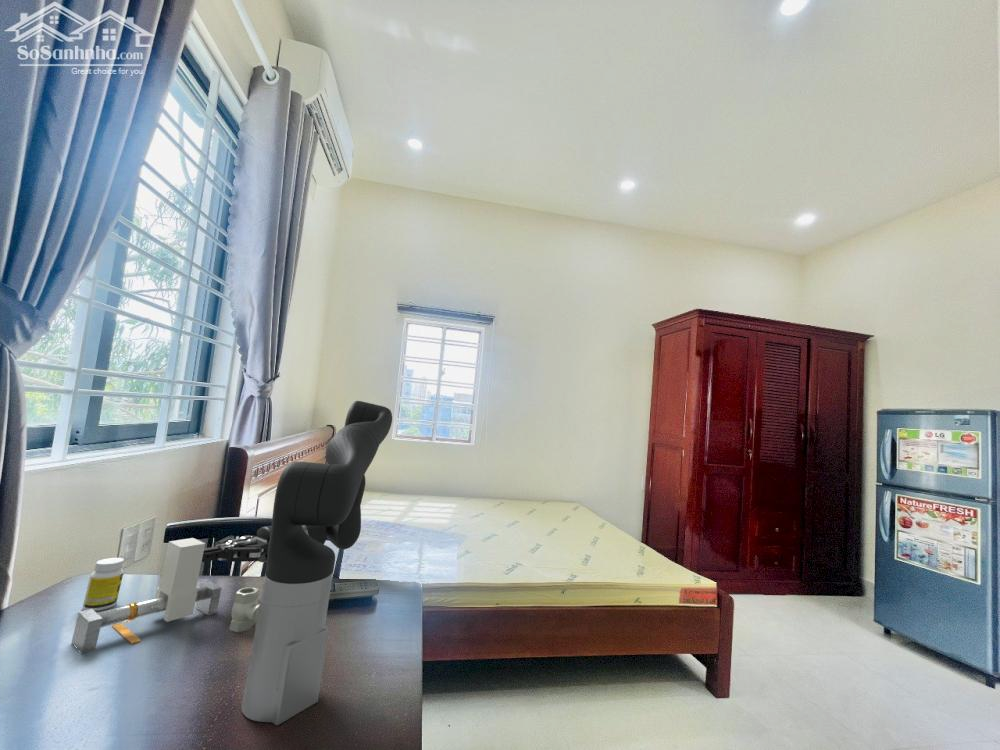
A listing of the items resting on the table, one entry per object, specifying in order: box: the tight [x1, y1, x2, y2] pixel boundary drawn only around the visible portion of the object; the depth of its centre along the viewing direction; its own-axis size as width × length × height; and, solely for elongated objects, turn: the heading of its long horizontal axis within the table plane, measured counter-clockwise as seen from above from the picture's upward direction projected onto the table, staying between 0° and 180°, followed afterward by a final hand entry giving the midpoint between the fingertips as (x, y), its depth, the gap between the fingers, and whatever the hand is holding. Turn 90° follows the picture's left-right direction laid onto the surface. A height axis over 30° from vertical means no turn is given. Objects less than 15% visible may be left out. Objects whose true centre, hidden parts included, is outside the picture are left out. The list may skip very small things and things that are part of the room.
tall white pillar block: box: [154, 537, 206, 622], centre depth 75 cm, size 4×6×13 cm, turn 60°
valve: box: [229, 586, 260, 633], centre depth 73 cm, size 7×7×12 cm
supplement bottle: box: [82, 557, 125, 612], centre depth 77 cm, size 5×5×8 cm
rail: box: [71, 580, 222, 655], centre depth 71 cm, size 19×9×5 cm, turn 150°
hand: (196, 556), depth 77 cm, fingers closed
